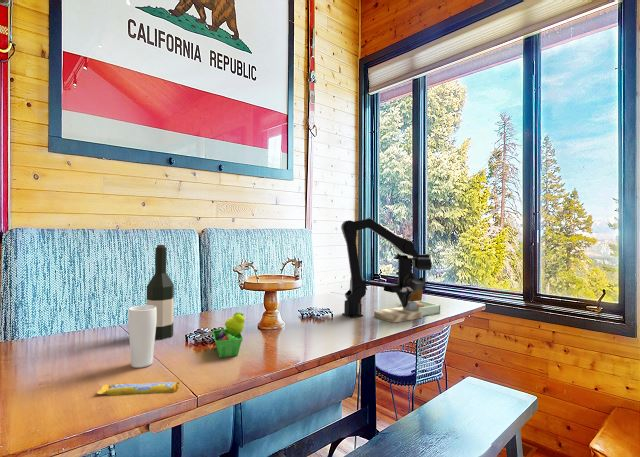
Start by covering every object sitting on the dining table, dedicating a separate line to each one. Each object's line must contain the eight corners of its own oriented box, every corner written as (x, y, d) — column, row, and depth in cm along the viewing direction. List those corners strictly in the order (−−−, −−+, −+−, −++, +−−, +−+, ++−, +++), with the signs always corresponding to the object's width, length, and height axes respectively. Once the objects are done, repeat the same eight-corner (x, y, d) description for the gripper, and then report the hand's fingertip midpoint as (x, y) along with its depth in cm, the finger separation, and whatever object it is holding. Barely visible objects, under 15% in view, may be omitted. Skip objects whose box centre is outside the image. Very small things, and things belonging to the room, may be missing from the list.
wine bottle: (163, 341, 117) (164, 246, 117) (140, 338, 119) (141, 245, 118) (178, 333, 125) (179, 244, 125) (156, 331, 127) (157, 244, 127)
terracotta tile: (419, 304, 157) (424, 304, 158) (412, 302, 160) (417, 302, 162) (419, 314, 157) (424, 313, 158) (412, 312, 160) (417, 311, 162)
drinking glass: (148, 358, 102) (149, 303, 102) (160, 364, 98) (161, 307, 98) (122, 365, 97) (123, 307, 97) (134, 371, 93) (135, 312, 93)
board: (392, 322, 144) (392, 316, 144) (374, 316, 153) (374, 310, 153) (421, 317, 152) (421, 312, 152) (402, 312, 161) (402, 306, 161)
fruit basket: (211, 346, 113) (212, 309, 112) (241, 344, 116) (241, 307, 116) (215, 359, 102) (215, 318, 102) (247, 356, 105) (248, 316, 105)
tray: (418, 316, 154) (419, 308, 154) (400, 311, 163) (400, 303, 163) (440, 313, 161) (440, 305, 161) (420, 308, 170) (421, 300, 170)
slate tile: (409, 310, 154) (409, 303, 154) (402, 308, 157) (403, 301, 157) (416, 309, 156) (416, 302, 156) (409, 307, 160) (409, 300, 159)
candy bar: (182, 386, 86) (182, 378, 86) (177, 394, 82) (178, 386, 82) (104, 390, 84) (104, 381, 84) (96, 398, 80) (96, 389, 80)
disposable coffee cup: (426, 303, 180) (427, 279, 180) (420, 307, 172) (421, 281, 172) (407, 301, 185) (408, 277, 185) (401, 304, 177) (401, 279, 177)
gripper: (402, 273, 143) (401, 314, 143) (435, 271, 153) (435, 309, 153) (383, 270, 153) (382, 308, 153) (415, 268, 162) (414, 303, 163)
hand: (404, 307), depth 155 cm, fingers closed
